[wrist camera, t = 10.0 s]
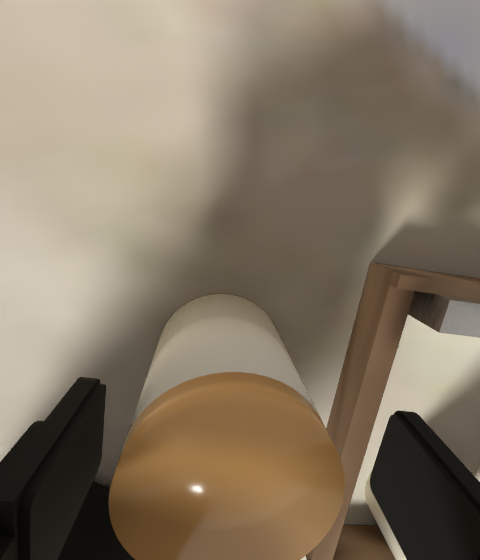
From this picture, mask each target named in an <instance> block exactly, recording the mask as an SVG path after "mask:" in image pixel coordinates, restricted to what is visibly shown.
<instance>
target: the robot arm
mask: <svg viewBox="0 0 480 560" xmlns="http://www.w3.org/2000/svg"><path fill="white" fill-rule="evenodd" d="M105 395H106V386H105V385H104V384H100V380H99V379H94V378H85V377H80V378H78V379H77V381H76V382H75V383H74V384H73V386H72V387H71V388H70V389H69V391H68V392H67V393H66V395H65V396H64V397H63V398H62V400H61V401H60V402H59V403H58V405H57V406H56V407H55V408H54V410H53V411H52V412H51V413H50V415H49V416H48V417H47V418H46V420H45V421H36V422H34V423H33V424H32V425H31V426H30V427H29V428H28V430H27V431H26V432H25V433H24V434H23V436H22V437H21V438H20V439H19V440H18V442H17V443H16V444H15V445H14V446H13V448H12V449H11V450H10V451H9V452H8V454H7V455H6V456H5V457H4V458H3V460H2V461H1V462H0V560H57V559H58V557H59V555H60V553H61V550H62V548H63V546H64V544H65V541H66V539H67V537H68V535H69V533H70V530H71V528H72V526H73V524H74V522H75V519H76V517H77V515H78V513H79V511H80V508H81V506H82V504H83V502H84V500H85V497H86V495H87V493H88V491H89V489H90V486H91V484H92V482H93V480H94V478H95V475H96V473H97V471H98V468H99V466H100V462H101V457H102V443H103V427H104V411H105ZM370 488H371V491H372V493H373V495H374V497H375V499H376V501H377V503H378V505H379V507H380V509H381V510H382V512H383V514H384V516H385V518H386V520H387V522H388V524H389V526H390V528H391V530H392V532H393V534H394V536H395V538H396V540H397V542H398V544H399V546H400V548H401V549H402V551H403V553H404V555H405V557H406V559H407V560H480V482H479V481H478V480H477V479H476V478H475V477H474V475H473V474H472V473H471V472H470V471H469V470H468V469H467V468H466V467H465V466H464V464H463V463H462V462H461V461H460V460H459V459H458V458H457V457H456V456H455V455H454V453H453V452H452V451H451V450H450V449H449V448H448V447H447V446H446V445H445V444H444V442H443V441H442V440H441V439H440V438H439V437H438V436H437V435H436V434H435V433H434V431H433V430H432V429H431V428H430V427H429V426H428V425H427V424H426V423H425V422H424V420H423V419H422V418H421V417H420V416H419V415H418V414H417V413H414V412H407V411H396V412H395V413H394V415H391V416H390V418H389V421H388V424H387V427H386V430H385V433H384V436H383V439H382V442H381V445H380V448H379V452H378V455H377V458H376V461H375V464H374V467H373V470H372V473H371V476H370Z"/></svg>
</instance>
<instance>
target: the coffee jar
mask: <svg viewBox="0 0 480 560" xmlns="http://www.w3.org/2000/svg"><path fill="white" fill-rule="evenodd" d="M109 492H110V488H108V487H105V486H103V485H101V484H98V483H96V482H92V484H91V486H90V489H89V491H88V493H87V495H86V497H85V500H84V502H83V504H82V506H81V508H80V511H79V513H78V515H77V517H76V519H75V522H74V524H73V526H72V528H71V530H70V533H69V535H68V537H67V539H66V541H65V544H64V546H63V548H62V550H61V553H60V555H59V557H58V559H57V560H135V559H134V558H133V557H132V556H131V555H130V554H129V553H128V552H127V551H126V550H125V548H124V547H123V546H122V544H121V543H120V541H119V540H118V538H117V536H116V534H115V531H114V529H113V527H112V523H111V519H110V515H109V503H108V502H109Z"/></svg>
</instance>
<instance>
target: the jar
mask: <svg viewBox="0 0 480 560" xmlns="http://www.w3.org/2000/svg"><path fill="white" fill-rule="evenodd" d="M344 492H345V476H344V469H343V465H342V462H341V459H340V456H339V454H338V452H337V450H336V448H335V446H334V444H333V442H332V440H331V438H330V436H329V434H328V432H327V430H326V428H325V426H324V424H323V422H322V420H321V418H320V416H319V414H318V412H317V410H316V408H315V406H314V404H313V402H312V400H311V398H310V396H309V394H308V392H307V390H306V388H305V386H304V384H303V382H302V380H301V378H300V376H299V374H298V372H297V370H296V368H295V366H294V364H293V362H292V360H291V358H290V356H289V354H288V352H287V350H286V348H285V346H284V344H283V342H282V340H281V339H280V337H279V335H278V333H277V331H276V329H275V327H274V325H273V323H272V321H271V319H270V318H269V317H268V315H267V314H266V313H265V312H264V311H263V310H262V309H261V308H260V307H259V306H257V305H256V304H254V303H253V302H251V301H249V300H247V299H245V298H242V297H239V296H235V295H229V294H212V295H207V296H202V297H199V298H197V299H194V300H192V301H190V302H188V303H186V304H185V305H183V306H182V307H181V308H179V309H178V310H177V311H176V312H175V313H174V314H173V315H172V316H171V318H170V319H169V320H168V322H167V323H166V325H165V327H164V329H163V331H162V334H161V337H160V340H159V343H158V346H157V349H156V352H155V355H154V357H153V360H152V363H151V366H150V369H149V372H148V375H147V378H146V381H145V384H144V387H143V390H142V393H141V396H140V399H139V402H138V405H137V408H136V411H135V414H134V417H133V420H132V423H131V426H130V429H129V432H128V435H127V438H126V441H125V444H124V447H123V450H122V452H121V455H120V458H119V461H118V464H117V467H116V470H115V473H114V476H113V480H112V483H111V487H110V492H109V502H108V503H109V515H110V519H111V523H112V527H113V529H114V531H115V534H116V536H117V538H118V540H119V541H120V543H121V544H122V546H123V547H124V548H125V550H126V551H127V552H128V553H129V554H130V555H131V556H132V557H133V558H134V559H135V560H300V559H301V558H303V557H304V556H305V555H307V554H308V553H309V552H310V551H311V550H312V549H314V548H315V547H316V546H317V545H318V544H319V543H320V541H321V540H322V539H323V538H324V537H325V536H326V535H327V533H328V532H329V530H330V529H331V527H332V526H333V524H334V522H335V520H336V518H337V516H338V514H339V511H340V508H341V505H342V502H343V497H344Z"/></svg>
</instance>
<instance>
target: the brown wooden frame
mask: <svg viewBox="0 0 480 560" xmlns="http://www.w3.org/2000/svg"><path fill="white" fill-rule="evenodd" d="M415 291H418V292H425V293H432V294H439V295H446V296H454V297H461V298H468V299H475V300H480V279H477V278H471V277H464V276H457V275H451V274H444V273H437V272H431V271H424V270H417V269H410V268H404V267H397V266H390V265H384V264H377V263H370V266H369V270H368V274H367V278H366V282H365V285H364V289H363V293H362V297H361V300H360V304H359V308H358V312H357V316H356V319H355V323H354V327H353V331H352V334H351V338H350V342H349V346H348V350H347V353H346V357H345V361H344V365H343V368H342V372H341V376H340V380H339V383H338V387H337V391H336V395H335V399H334V402H333V406H332V410H331V414H330V417H329V421H328V425H327V429H326V430H327V432H328V434H329V436H330V438H331V440H332V442H333V444H334V446H335V448H336V450H337V452H338V454H339V456H340V459H341V462H342V465H343V469H344V476H345V492H344V497H343V502H342V505H341V508H340V511H339V514H338V516H337V518H336V520H335V522H334V524H333V526H332V527H331V529H330V530H329V532H328V533H327V535H326V536H325V537H324V538H323V539H322V540H321V541H320V543H319V544H318V545H317V546H316V547H315V548H314V549H312V550H311V551H310V552H309V553H308V554H307V555H306V558H307V560H396V559H395V557H394V555H393V553H392V551H391V549H390V548H389V546H388V544H387V542H386V540H385V538H384V536H383V534H382V532H381V530H380V528H379V526H359V525H343V524H344V521H345V517H346V514H347V511H348V508H349V504H350V501H351V498H352V494H353V491H354V488H355V485H356V481H357V478H358V475H359V472H360V468H361V465H362V462H363V459H364V455H365V452H366V449H367V445H368V442H369V439H370V436H371V432H372V429H373V426H374V423H375V419H376V416H377V413H378V410H379V406H380V403H381V400H382V397H383V393H384V390H385V387H386V383H387V380H388V377H389V374H390V370H391V367H392V364H393V361H394V357H395V354H396V351H397V348H398V344H399V341H400V338H401V335H402V331H403V328H404V325H405V321H406V318H407V315H408V312H409V308H410V305H411V302H412V299H413V295H414V292H415Z"/></svg>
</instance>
